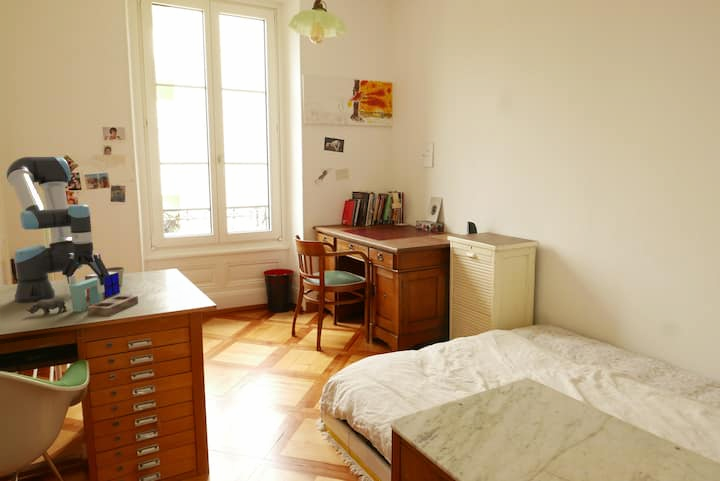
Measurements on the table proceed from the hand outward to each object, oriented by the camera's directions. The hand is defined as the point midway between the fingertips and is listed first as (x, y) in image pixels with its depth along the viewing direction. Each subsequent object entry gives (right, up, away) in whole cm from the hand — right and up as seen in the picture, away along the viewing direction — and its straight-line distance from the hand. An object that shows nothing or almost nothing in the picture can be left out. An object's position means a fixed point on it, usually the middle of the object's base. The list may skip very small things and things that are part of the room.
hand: (87, 292), depth 204 cm
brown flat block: (+12, -7, -1) cm, 14 cm away
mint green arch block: (0, -6, +1) cm, 7 cm away
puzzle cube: (-4, -4, +20) cm, 20 cm away
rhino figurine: (-12, -8, -8) cm, 16 cm away
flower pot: (-6, -1, +36) cm, 37 cm away
